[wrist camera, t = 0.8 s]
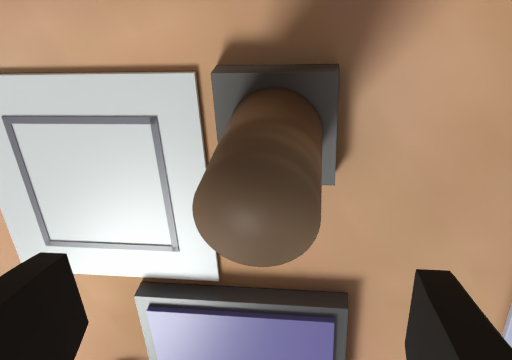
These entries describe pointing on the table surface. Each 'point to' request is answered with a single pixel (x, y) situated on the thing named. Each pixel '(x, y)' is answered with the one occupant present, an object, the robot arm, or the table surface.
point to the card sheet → (105, 171)
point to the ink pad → (241, 323)
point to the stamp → (268, 161)
